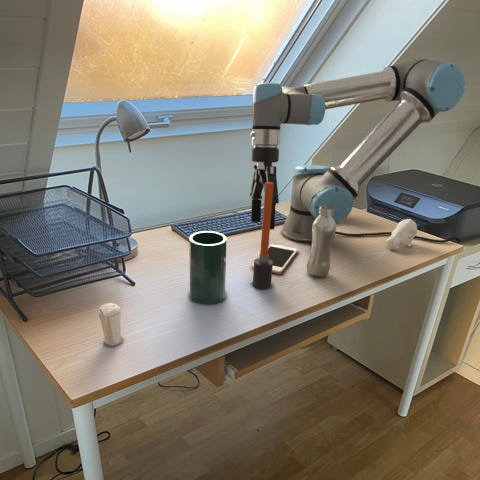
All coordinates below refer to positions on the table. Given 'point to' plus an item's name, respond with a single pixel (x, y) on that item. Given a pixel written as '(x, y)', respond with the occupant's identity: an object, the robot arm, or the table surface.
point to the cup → (207, 267)
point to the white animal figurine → (402, 234)
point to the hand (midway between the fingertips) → (262, 225)
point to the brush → (264, 245)
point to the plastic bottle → (321, 242)
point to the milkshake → (110, 323)
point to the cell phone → (280, 257)
